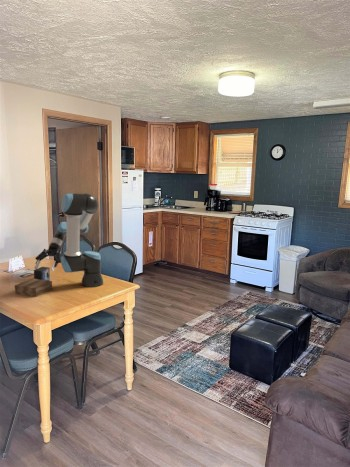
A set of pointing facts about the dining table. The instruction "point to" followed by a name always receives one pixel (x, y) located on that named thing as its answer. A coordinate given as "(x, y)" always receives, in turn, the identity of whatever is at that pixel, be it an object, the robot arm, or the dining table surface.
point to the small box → (42, 273)
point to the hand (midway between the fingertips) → (43, 269)
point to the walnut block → (33, 287)
